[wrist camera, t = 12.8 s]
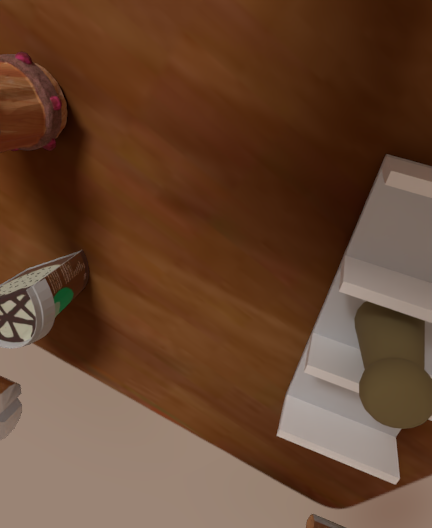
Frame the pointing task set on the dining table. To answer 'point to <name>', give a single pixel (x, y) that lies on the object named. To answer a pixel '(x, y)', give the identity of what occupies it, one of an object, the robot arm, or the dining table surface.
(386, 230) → the slot rack
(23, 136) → the mug
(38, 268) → the food container
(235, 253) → the dining table surface
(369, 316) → the cork
